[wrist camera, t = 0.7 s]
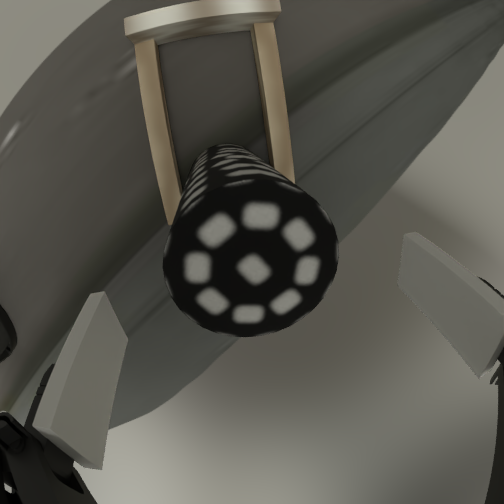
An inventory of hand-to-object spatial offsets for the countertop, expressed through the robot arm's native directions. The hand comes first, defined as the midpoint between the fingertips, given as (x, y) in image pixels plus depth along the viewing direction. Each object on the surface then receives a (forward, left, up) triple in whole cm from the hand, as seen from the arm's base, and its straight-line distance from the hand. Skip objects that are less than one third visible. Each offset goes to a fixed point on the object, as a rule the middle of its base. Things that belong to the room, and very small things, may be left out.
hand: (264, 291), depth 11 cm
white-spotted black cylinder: (0, 0, -22) cm, 22 cm away
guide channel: (0, +7, -22) cm, 23 cm away
